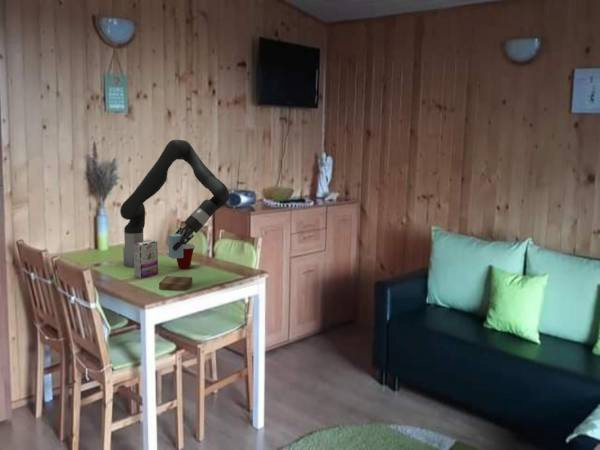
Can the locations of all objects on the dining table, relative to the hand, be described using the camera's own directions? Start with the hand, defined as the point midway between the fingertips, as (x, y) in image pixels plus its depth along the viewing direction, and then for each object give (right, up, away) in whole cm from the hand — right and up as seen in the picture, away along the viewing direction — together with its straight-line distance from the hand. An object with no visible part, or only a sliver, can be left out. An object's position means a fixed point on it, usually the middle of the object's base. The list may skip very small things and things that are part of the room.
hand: (171, 248), depth 268 cm
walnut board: (+1, -17, +4) cm, 18 cm away
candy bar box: (-17, -14, +21) cm, 30 cm away
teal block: (+1, -4, +2) cm, 5 cm away
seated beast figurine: (-11, -6, +66) cm, 67 cm away
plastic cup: (-2, -11, +38) cm, 40 cm away
